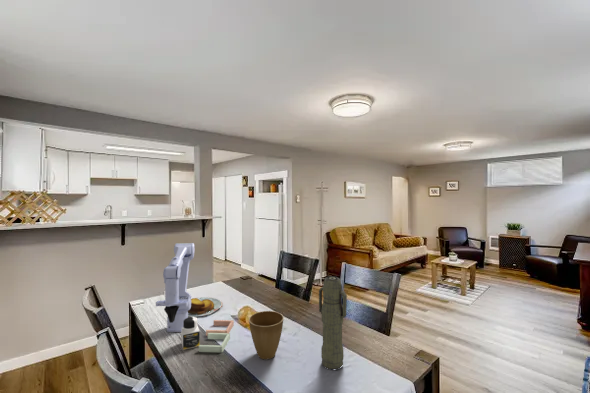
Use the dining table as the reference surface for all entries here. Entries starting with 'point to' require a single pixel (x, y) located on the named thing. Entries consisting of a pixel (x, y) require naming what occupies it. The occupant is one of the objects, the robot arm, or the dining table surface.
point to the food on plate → (204, 306)
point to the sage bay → (215, 347)
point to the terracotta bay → (222, 323)
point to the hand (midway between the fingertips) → (172, 321)
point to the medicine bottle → (190, 333)
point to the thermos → (332, 321)
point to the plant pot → (266, 332)
